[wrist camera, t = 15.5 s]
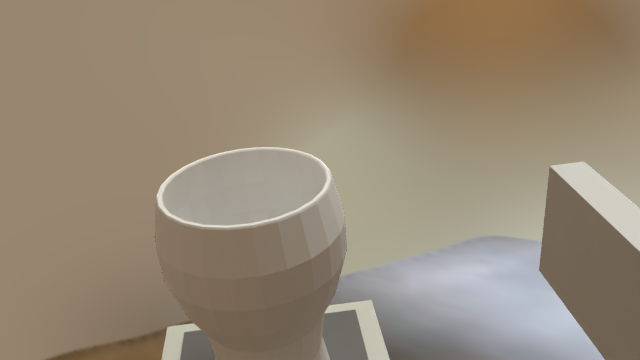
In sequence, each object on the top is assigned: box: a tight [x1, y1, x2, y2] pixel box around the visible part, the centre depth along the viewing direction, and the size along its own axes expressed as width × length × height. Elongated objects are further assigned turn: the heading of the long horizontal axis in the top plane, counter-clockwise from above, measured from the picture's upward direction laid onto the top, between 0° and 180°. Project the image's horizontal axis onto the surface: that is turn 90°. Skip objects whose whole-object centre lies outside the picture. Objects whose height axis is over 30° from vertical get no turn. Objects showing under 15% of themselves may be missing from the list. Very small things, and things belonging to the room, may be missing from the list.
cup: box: [155, 147, 347, 360], centre depth 36 cm, size 11×11×15 cm
